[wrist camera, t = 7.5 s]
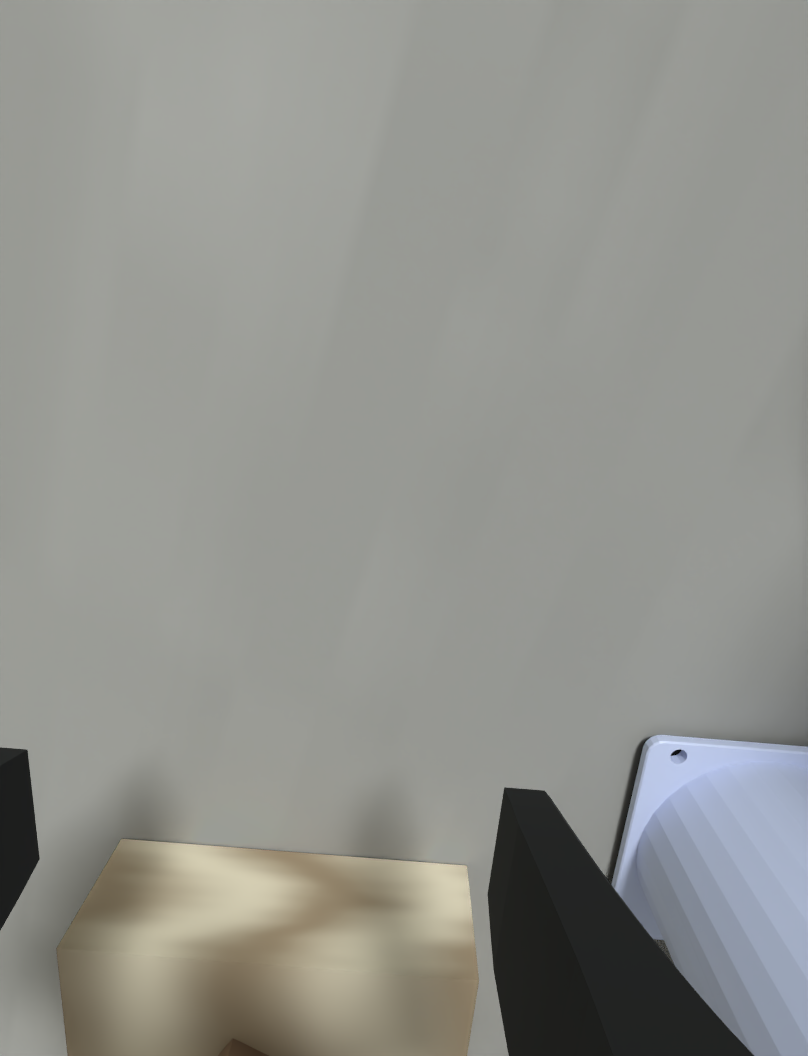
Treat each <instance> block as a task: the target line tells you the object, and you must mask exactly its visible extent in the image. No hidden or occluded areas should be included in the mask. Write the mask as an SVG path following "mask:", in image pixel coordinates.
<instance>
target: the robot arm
mask: <svg viewBox="0 0 808 1056" xmlns="http://www.w3.org/2000/svg"><path fill="white" fill-rule="evenodd" d="M680 749H681V752H680V753H679V754H677V755H674V756H671V754H672V752H674V751H675V750H680ZM38 861H39V851H38V841H37V832H36V823H35V814H34V805H33V796H32V787H31V778H30V769H29V760H28V751H27V750H24V749H12V748H0V930H1V928H2V926H3V925H4V923H5V921H6V919H7V918H8V916H9V914H10V913H11V911H12V909H13V907H14V906H15V904H16V902H17V900H18V899H19V897H20V895H21V893H22V891H23V889H24V887H25V885H26V884H27V882H28V880H29V878H30V876H31V874H32V872H33V870H34V869H35V867H36V865H37V863H38ZM488 904H489V917H490V931H491V943H492V954H493V966H494V974H495V980H496V985H497V991H498V997H499V1003H500V1008H501V1014H502V1020H503V1025H504V1031H505V1037H506V1042H507V1048H508V1053H509V1056H808V747H805V746H793V745H780V744H768V743H756V742H743V741H731V740H718V739H706V738H694V737H681V736H669V735H656V736H653V737H651V738H649V739H648V740H647V741H646V742H645V744H644V746H643V749H642V754H641V758H640V762H639V767H638V771H637V776H636V780H635V784H634V789H633V793H632V797H631V802H630V806H629V810H628V815H627V819H626V823H625V828H624V832H623V836H622V841H621V845H620V849H619V854H618V858H617V862H616V867H615V871H614V875H613V880H612V884H610V882H609V881H608V880H607V878H606V877H605V875H604V874H603V873H602V871H601V870H600V869H599V867H598V866H597V864H596V863H595V862H594V860H593V859H592V857H591V856H590V855H589V853H588V852H587V850H586V849H585V847H584V846H583V845H582V843H581V842H580V840H579V839H578V837H577V836H576V835H575V833H574V832H573V830H572V829H571V827H570V826H569V824H568V823H567V821H566V820H565V819H564V817H563V816H562V814H561V813H560V811H559V810H558V808H557V807H556V805H555V804H554V802H553V801H552V799H551V798H550V797H549V796H548V794H547V793H546V792H545V791H541V790H529V789H516V788H504V794H503V800H502V806H501V813H500V819H499V826H498V832H497V838H496V845H495V851H494V857H493V864H492V870H491V877H490V883H489V889H488ZM653 939H657V940H664V941H665V944H666V946H667V948H668V951H669V953H670V956H671V958H672V960H673V963H674V964H673V963H672V962H671V961H670V959H669V958H668V957H667V956H666V955H665V953H664V952H663V951H662V950H661V948H660V947H659V946H658V945H657V943H656V942H655V941H654V940H653Z"/></svg>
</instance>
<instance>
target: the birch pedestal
mask: <svg viewBox="0 0 808 1056" xmlns="http://www.w3.org/2000/svg"><path fill="white" fill-rule="evenodd" d="M56 950H57V959H58V968H59V978H60V987H61V997H62V1006H63V1016H64V1025H65V1034H66V1044H67V1053H68V1056H218V1055H219V1054H220V1052H221V1051H222V1050H223V1049H224V1048H225V1047H226V1045H227V1044H228V1043H229V1042H230V1041H231V1040H232V1038H234V1039H236V1040H238V1041H240V1042H242V1043H244V1044H246V1045H248V1046H250V1047H252V1048H254V1049H256V1050H258V1051H260V1052H263V1053H265V1054H267V1055H269V1056H467V1052H468V1046H469V1039H470V1033H471V1027H472V1021H473V1014H474V1008H475V1002H476V996H477V989H478V983H479V977H478V967H477V958H476V948H475V939H474V929H473V920H472V910H471V900H470V891H469V881H468V872H467V866H464V865H451V864H439V863H426V862H413V861H400V860H387V859H375V858H362V857H349V856H336V855H323V854H311V853H298V852H285V851H272V850H259V849H247V848H234V847H221V846H208V845H195V844H183V843H170V842H157V841H144V840H131V839H121V840H120V842H119V844H118V845H117V847H116V849H115V850H114V852H113V854H112V856H111V857H110V859H109V861H108V862H107V864H106V866H105V867H104V869H103V871H102V872H101V874H100V876H99V877H98V879H97V881H96V883H95V884H94V886H93V888H92V889H91V891H90V893H89V894H88V896H87V898H86V899H85V901H84V903H83V904H82V906H81V908H80V910H79V911H78V913H77V915H76V916H75V918H74V920H73V921H72V923H71V925H70V926H69V928H68V930H67V932H66V933H65V935H64V937H63V938H62V940H61V942H60V943H59V945H58V947H57V948H56Z"/></svg>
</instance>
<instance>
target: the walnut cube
mask: <svg viewBox="0 0 808 1056" xmlns="http://www.w3.org/2000/svg"><path fill="white" fill-rule="evenodd" d="M218 1056H269V1055H267V1054H265V1053H263V1052H260V1051H258V1050H256V1049H254V1048H252V1047H250V1046H248V1045H246V1044H244V1043H242V1042H240V1041H238V1040H236V1039H234V1038H232V1040H231V1041H230V1042H229V1043H228V1044H227V1045H226V1047H225V1048H224V1049H223V1050H222V1051H221V1052H220V1054H219V1055H218Z"/></svg>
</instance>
